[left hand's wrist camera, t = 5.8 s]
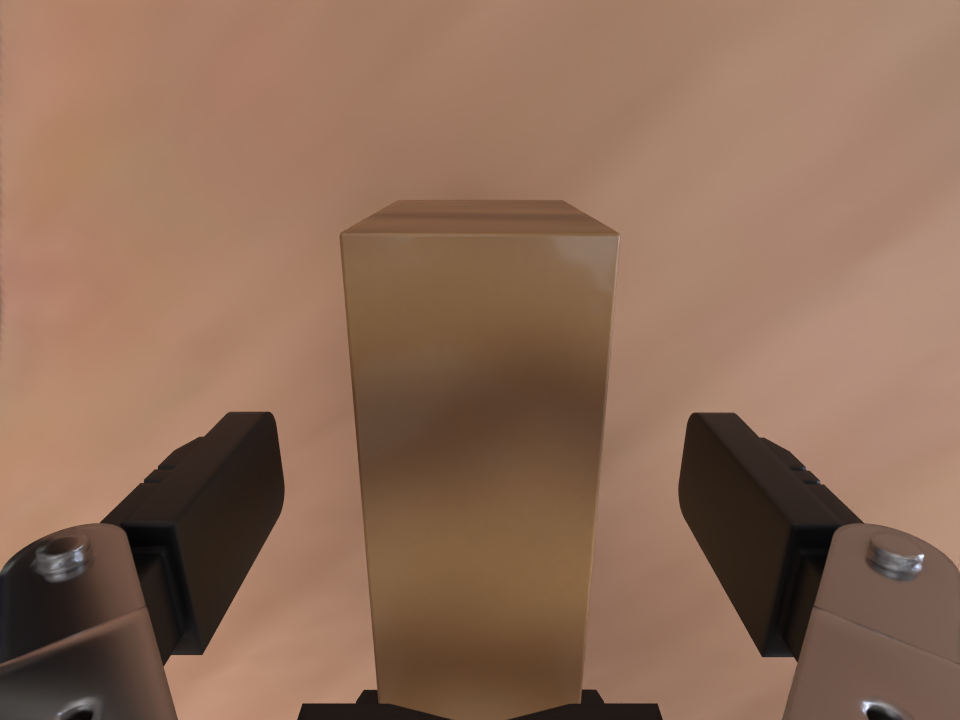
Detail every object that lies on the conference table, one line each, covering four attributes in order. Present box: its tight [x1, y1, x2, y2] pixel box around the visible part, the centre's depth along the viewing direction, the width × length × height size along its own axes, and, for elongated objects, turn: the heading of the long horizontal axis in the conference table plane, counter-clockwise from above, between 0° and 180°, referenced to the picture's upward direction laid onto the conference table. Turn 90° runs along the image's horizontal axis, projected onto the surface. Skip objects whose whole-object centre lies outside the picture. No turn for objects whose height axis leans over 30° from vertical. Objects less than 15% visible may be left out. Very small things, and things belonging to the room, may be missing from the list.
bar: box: [340, 200, 620, 720], centre depth 20 cm, size 23×6×9 cm, turn 0°
